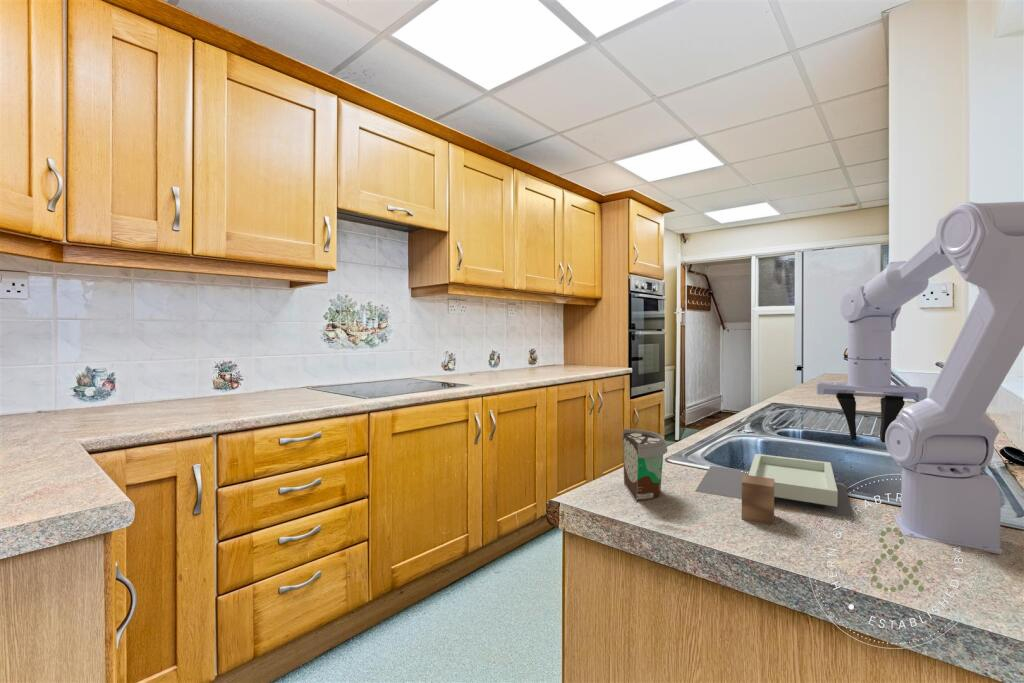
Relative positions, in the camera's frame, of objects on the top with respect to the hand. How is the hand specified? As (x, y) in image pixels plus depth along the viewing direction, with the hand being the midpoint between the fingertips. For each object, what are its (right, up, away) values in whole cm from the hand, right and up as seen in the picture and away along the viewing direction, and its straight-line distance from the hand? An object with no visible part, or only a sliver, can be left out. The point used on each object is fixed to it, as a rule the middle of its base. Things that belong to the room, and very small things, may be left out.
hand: (868, 439), depth 78 cm
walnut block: (-23, -10, -9) cm, 27 cm away
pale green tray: (-12, -9, +2) cm, 15 cm away
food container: (-36, -10, +2) cm, 38 cm away
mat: (-15, -10, +3) cm, 18 cm away
